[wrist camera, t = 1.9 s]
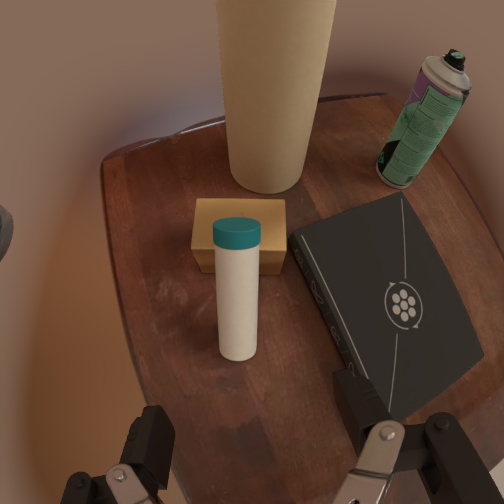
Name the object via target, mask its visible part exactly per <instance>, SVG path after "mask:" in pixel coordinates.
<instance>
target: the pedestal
mask: <svg viewBox="0 0 504 504" xmlns="http://www.w3.org/2000/svg"><path fill="white" fill-rule="evenodd" d="M336 1H337V0H216V9H217V23H218V35H219V49H220V61H221V73H222V84H223V96H224V107H225V119H226V130H227V141H228V152H229V163H230V170H231V173H232V176H233V177H234V179H235V180H236V181H237V182H238V183H239V184H240V185H241V186H243V187H244V188H246V189H248V190H250V191H252V192H256V193H261V194H274V193H279V192H283V191H285V190H287V189H289V188H291V187H292V186H293V185H295V183H296V182H297V181H298V180H299V178H300V176H301V174H302V170H303V166H304V161H305V157H306V152H307V148H308V143H309V139H310V134H311V129H312V125H313V120H314V115H315V111H316V106H317V101H318V96H319V91H320V85H321V81H322V76H323V71H324V66H325V61H326V55H327V51H328V45H329V40H330V35H331V29H332V24H333V18H334V12H335V7H336Z"/></svg>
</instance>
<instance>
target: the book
mask: <svg viewBox="0 0 504 504" xmlns="http://www.w3.org/2000/svg"><path fill="white" fill-rule="evenodd" d="M288 243H289V245H290V247H291V249H292V251H293V253H294V255H295V258H296V260H297V262H298V264H299V266H300V268H301V270H302V272H303V274H304V276H305V278H306V280H307V282H308V284H309V287H310V289H311V291H312V293H313V295H314V297H315V299H316V301H317V304H318V306H319V308H320V310H321V312H322V314H323V316H324V319H325V321H326V323H327V325H328V327H329V329H330V332H331V334H332V336H333V338H334V340H335V343H336V345H337V347H338V349H339V351H340V354H341V356H342V358H343V360H344V363H345V365H346V367H347V368H349V369H350V371H351V373H352V375H353V377H357V376H360V375H363V376H365V377H366V378H368V379H369V380H371V382H372V384H373V386H374V387H375V390H376V391H377V392H378V394H379V396H380V397H381V399H382V401H383V403H384V404H385V406H386V408H387V410H388V411H389V413H390V415H391V417H392V418H393V419H394V420H395V421H397V422H401V421H402V420H404V419H405V418H407V417H408V416H410V415H411V414H413V413H414V412H416V411H417V410H419V409H420V408H421V407H423V406H424V405H426V404H427V403H428V402H430V401H431V400H432V399H434V398H435V397H436V396H438V395H439V394H440V393H442V392H443V391H444V390H445V389H447V388H448V387H449V386H451V385H452V384H453V383H454V382H455V381H457V380H458V379H459V378H460V377H461V376H463V375H464V374H465V373H466V372H467V371H468V370H470V369H471V368H472V367H473V366H474V365H475V364H476V363H477V362H479V361H480V360H481V359H482V358H483V357H484V353H483V350H482V348H481V345H480V342H479V340H478V337H477V334H476V332H475V329H474V327H473V325H472V322H471V320H470V317H469V315H468V313H467V310H466V308H465V306H464V304H463V301H462V299H461V297H460V295H459V293H458V291H457V288H456V286H455V284H454V282H453V280H452V278H451V276H450V274H449V272H448V270H447V268H446V266H445V264H444V262H443V260H442V259H441V257H440V255H439V253H438V251H437V249H436V247H435V246H434V244H433V242H432V240H431V239H430V237H429V235H428V233H427V232H426V230H425V228H424V226H423V225H422V223H421V221H420V220H419V218H418V216H417V215H416V213H415V212H414V210H413V208H412V207H411V205H410V204H409V202H408V201H407V199H406V197H405V196H404V194H403V193H402V192H401V191H400V192H397V193H394V194H392V195H389V196H386V197H383V198H381V199H378V200H375V201H373V202H370V203H367V204H364V205H362V206H359V207H356V208H354V209H351V210H348V211H346V212H343V213H340V214H337V215H335V216H332V217H329V218H327V219H324V220H321V221H319V222H316V223H313V224H310V225H308V226H305V227H302V228H300V229H297V230H295V231H293V232H292V234H291V235H290V237H289V239H288Z"/></svg>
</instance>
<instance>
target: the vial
mask: <svg viewBox="0 0 504 504" xmlns="http://www.w3.org/2000/svg"><path fill="white" fill-rule="evenodd" d="M213 242H214V245H215V272H216V295H217V315H218V333H219V349H220V353H221V354H222V355H223V356H224V357H225V358H227V359H229V360H233V361H243V360H247V359H249V358H251V357H252V356H253V355H254V354H255V352H256V346H257V313H258V279H259V244H260V242H261V223H260V222H259V221H257V220H255V219H251V218H246V217H228V218H223V219H219V220H217V221H215V222H214V223H213Z"/></svg>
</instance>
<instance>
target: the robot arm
mask: <svg viewBox="0 0 504 504" xmlns="http://www.w3.org/2000/svg"><path fill="white" fill-rule="evenodd" d="M1 224H2V220H1V215H0V231H1ZM332 376H333V385H334V395H335V401H336V404H337V407H338V410H339V412H340V415H341V417H342V420H343V422H344V425H345V427H346V430H347V432H348V435H349V437H350V440H351V442H352V445H353V447H354V450H355V452H356V455H357V457H358V460H357V463H356V465H355V467H354V468H353V470H350V471H349V472H348V474H347V476H346V477H345V479H344V481H343V483H342V485H341V487H340V489H339V491H338V492H337V494H336V496H335V498H334V500H333V501H332V503H331V504H383V502H384V499H385V497H386V495H387V492H388V490H389V487H390V485H391V482H392V480H393V477H394V475H395V472H399V471H407V470H414V469H417V470H418V473H419V475H420V477H421V480H422V482H423V484H424V487H425V489H426V492H427V494H428V496H429V499H430V501H431V504H504V499H503V498H502V495H501V493H500V492H499V490H498V488H497V486H496V484H495V482H494V481H493V479H492V477H491V475H490V474H489V472H488V470H487V468H486V467H485V465H484V463H483V462H482V460H481V458H480V456H479V455H478V453H477V451H476V450H475V448H474V447H473V445H472V443H471V442H470V440H469V438H468V437H467V435H466V434H465V432H464V430H463V429H462V427H461V426H460V424H459V423H458V421H457V420H456V418H455V417H454V416H453V415H451V414H449V413H446V412H439V413H436V414H433V415H432V416H430V417H429V418H428V419H427V421H426V423H423V424H417V425H402V424H400V423H399V422H397V421H395V420H394V419H393V418H392V417H391V415H390V413H389V411H388V410H387V408H386V406H385V404H384V403H383V401H382V399H381V397H380V396H379V394H378V392H377V391H376V390H375V387H374V386H373V384H372V382H371V380H369V379H368V378H366V377H365V376H363V375H360V376H357V377H353V375H352V373H351V371H350V369H349V368H345V369H342V370H339V371H336V372H333V373H332ZM174 440H175V430H174V427H173V425H172V423H171V421H170V420H169V418H168V416H167V415H166V413H165V411H164V409H163V408H162V406H160V405H157V406H146V407H144V409H143V413H142V416H141V417H137V418H136V420H135V421H134V422H133V423H132V424H131V427H130V430H129V434H128V436H127V441H126V443H125V446H124V449H123V452H122V455H121V459H120V462H119V464H117V465H114V466H112V467H111V468H110V469H109V470H108V472H107V474H106V475H103V476H98V477H93V478H91V477H90V476H89V475H88V474H87V473H85V472H77V473H74V474H73V475H71V476H70V478H69V479H68V482H67V484H66V488H65V490H64V493H63V497H62V500H61V503H60V504H164V503H163V502H162V500H161V499H160V498H159V496H158V495H157V493H158V490H167V484H168V478H169V471H170V465H171V459H172V453H173V446H174Z"/></svg>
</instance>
